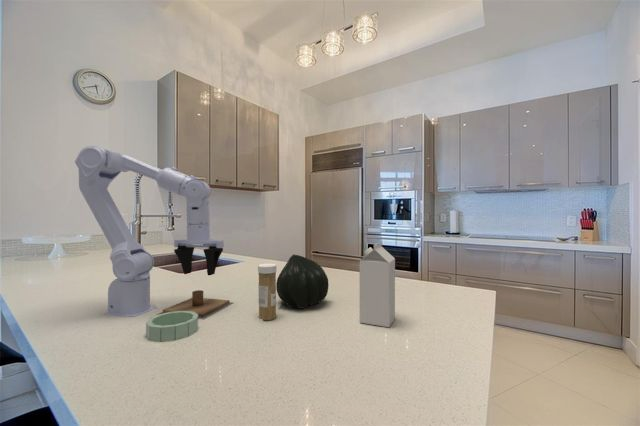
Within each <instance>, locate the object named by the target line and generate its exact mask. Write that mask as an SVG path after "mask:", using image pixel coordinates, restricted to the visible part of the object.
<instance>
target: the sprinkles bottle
mask: <svg viewBox="0 0 640 426" xmlns="http://www.w3.org/2000/svg"><path fill="white" fill-rule="evenodd" d="M257 272H258V316H257V317H258V319H259V320H262V321H272V320H274V319H276V318H277V289H276V283H277V277H276V274H277V264H276V263H270V262H269V263H261V264H258V266H257Z"/></svg>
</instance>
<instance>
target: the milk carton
mask: <svg viewBox="0 0 640 426" xmlns="http://www.w3.org/2000/svg"><path fill="white" fill-rule="evenodd" d="M363 253H364V254H365V255H364V256H363V257H362V258H361V259H360V260H359V323H360V324H361V323H362V324H367V325H372V326H373V325H374V326H379V327H384V328H390V327H391V325H392V324H393V321H395V319H396V258H395V257H394V256H393V255H392V254H391V253H390V252H388V251H387V250H386V249H385V248H384V247H383V246H382V241H380V242H377V243H375V244H373V248H372V247H370V246H369V248H367V249H365V250H364V251H363Z"/></svg>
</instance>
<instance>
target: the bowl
mask: <svg viewBox="0 0 640 426" xmlns="http://www.w3.org/2000/svg"><path fill="white" fill-rule="evenodd" d="M158 314H159V313H158ZM198 329H199V319H198V314H197V313H195V312H192V311H174V312H168V313H163V314H159V315H154V316H152V317H150V318H149V319H148V320H147V321H146V322H145V337H146V338H147V339H148V340H149V341H153V342H154V341H155V342H170V341H175V340H181V339H184V338H187V337H189V336H191V335H193V334H195V333H196V332H197V331H198Z"/></svg>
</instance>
